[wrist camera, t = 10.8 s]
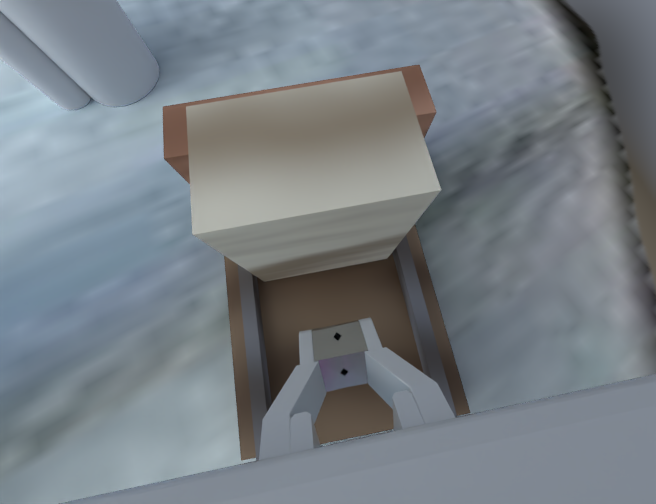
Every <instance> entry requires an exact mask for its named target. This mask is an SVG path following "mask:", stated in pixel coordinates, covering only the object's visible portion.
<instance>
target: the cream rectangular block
mask: <svg viewBox="0 0 656 504" xmlns="http://www.w3.org/2000/svg"><path fill="white" fill-rule="evenodd" d="M186 116H187V136H188V156H189V175H190V195H191V214H192V234H193V235H194V236H195V237H197V238H198V239H200V240H201V241H203V242H204V243H206V244H207V245H209V246H210V247H212V248H213V249H215V250H216V251H218V252H220V253H221V254H223V255H224V256H226V257H227V258H229V259H230V260H232V261H233V262H235V263H236V264H238V265H239V266H241V267H243V268H244V269H246V270H247V271H249V272H250V273H252V274H253V275H255V276H256V277H258V278H259V279H261V280H262V281H264V282H266V281H271V280H276V279H282V278H287V277H292V276H298V275H303V274H308V273H314V272H319V271H324V270H330V269H335V268H340V267H346V266H351V265H357V264H362V263H367V262H373V261H378V260H383V259H387V258H388V257H389V256H390V255H391V253H392V252H393V251H394V249H395V248H396V247H397V246H398V244H399V243H400V242H401V241H402V239H403V238H404V237H405V236H406V234H407V233H408V232H409V230H410V229H411V228H412V227H413V225H414V224H415V223H416V222H417V220H418V219H419V218H420V217H421V215H422V214H423V213H424V211H425V210H426V209H427V208H428V206H429V205H430V204H431V203H432V201H433V200H434V199H435V198H436V196H437V195H438V194H439V192H440V191H441V187H440V185H439V182H438V179H437V176H436V173H435V170H434V167H433V164H432V161H431V158H430V155H429V152H428V149H427V146H426V143H425V140H424V137H423V134H422V131H421V128H420V125H419V122H418V119H417V116H416V113H415V110H414V107H413V104H412V101H411V98H410V95H409V92H408V89H407V86H406V83H405V80H404V77H403V74H402V71H399V72H393V73H387V74H381V75H374V76H368V77H362V78H356V79H350V80H344V81H338V82H332V83H326V84H320V85H314V86H308V87H302V88H296V89H290V90H283V91H277V92H271V93H265V94H259V95H253V96H247V97H241V98H235V99H229V100H223V101H217V102H211V103H205V104H199V105H192V106H186Z"/></svg>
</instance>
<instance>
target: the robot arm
mask: <svg viewBox="0 0 656 504" xmlns="http://www.w3.org/2000/svg"><path fill="white" fill-rule="evenodd" d="M299 353H300V365H297V366H296V367H295V369H294V370H293V372H292V373H291V375H290V377H289V378H288V380H287V381H286V383H285V384H284V386H283V388H282V389H281V391H280V392H279V394H278V396H277V397H276V399H275V400H274V402H273V404H272V405H271V407H270V408H269V410H268V412H267V413H266V415H265V416H264V418H263V421H262V432H261V442H260V453H259V460H258V461H254V462H249V463H244V464H240V465H235V466H231V467H226V468H221V469H217V470H212V471H207V472H203V473H198V474H194V475H189V476H184V477H180V478H175V479H171V480H166V481H161V482H157V483H152V484H148V485H143V486H138V487H134V488H129V489H124V490H120V491H115V492H111V493H106V494H101V495H97V496H92V497H87V498H83V499H78V500H74V501H69V502H64V503H60V504H656V374H653V375H649V376H644V377H639V378H635V379H630V380H626V381H621V382H617V383H612V384H607V385H603V386H598V387H594V388H589V389H584V390H580V391H575V392H571V393H566V394H561V395H557V396H552V397H548V398H543V399H538V400H534V401H529V402H525V403H520V404H515V405H511V406H506V407H502V408H497V409H492V410H488V411H483V412H479V413H474V414H469V415H465V416H460V417H456V418H455V416H454V414H453V412H452V410H451V408H450V406H449V404H448V403H447V401H446V399H445V397H444V395H443V393H442V391H441V389H440V387H439V386H438V384H437V383H436V382H435V381H434V380H432V379H431V378H429V377H428V376H427V375H425V374H424V373H422V372H421V371H419V370H418V369H417V368H415V367H414V366H412V365H411V364H409V363H408V362H407V361H405V360H404V359H402V358H401V357H400V356H398V355H397V354H395V353H394V352H392V351H391V350H390V349H388V348H387V347H385V348H383V347H382V345H381V342H380V340H379V337H378V334H377V332H376V329H375V327H374V324H373V321H372V319H371V318H365V319H360V320H356V321H351V322H346V323H342V324H337V325H332V326H327V327H321V328H315V329H311V330H305V331H300V332H299ZM367 383H368V384H369V385H370V386H371V387H372V388H373V389H374V390H375V392H376V393H377V394H378V395H379V396H380V397H381V398H382V399H383V400H384V401H385V402H386V403H387V404H388V405H389V406H390V407H391V408H392V409H393V425H394V431H391V432H387V433H382V434H378V435H373V436H368V437H364V438H359V439H355V440H350V441H345V442H341V443H336V444H332V445H327V446H323V447H321V445H320V442H319V439H318V436H317V432H316V429H315V426H314V423H315V421H316V418H317V416H318V413H319V411H320V408H321V406H322V403H323V401H324V398H325V396H326V392H328V391H333V390H337V389H341V388H345V387H350V386H356V385H361V384H367Z"/></svg>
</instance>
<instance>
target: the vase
mask: <svg viewBox="0 0 656 504" xmlns="http://www.w3.org/2000/svg"><path fill="white" fill-rule="evenodd" d="M0 59H1V60H2V61H4V62H5V63H6V64H7V65H9V66H10V67H11V68H12V69H14V70H15V71H16V72H17V73H19V74H20V75H21V76H22V77H23V78H25V79H26V80H27V81H28V82H30V83H31V84H32V85H33V86H35V87H36V88H37V89H38V90H40V91H41V92H42V93H43V94H45V95H46V96H47V97H48V98H50V99H51V100H52V101H53V102H55V103H56V104H57V105H58V106H60V107H61V108H63V109H65V110H77V109H80V108H82V107H84V106H85V105H87V104H88V103H89V101H90V99H91V98H93V99H94V100H95V101H96V102H98V103H100V104H102V105H105V106H110V107H120V106H127V105H129V104H132V103H135V102H137V101H139V100H140V99H142V98H143V97H145V96H146V95H147V94H148V93H149V92H150V91H151V90H152V89H153V88H154V86H155V84H156V82H157V80H158V78H159V66H158V63H157V60H156V59H155V57H154V56H153V54H152V53H151V51H150V50H149V48H148V47H147V45H146V44H145V42H144V41H143V39H142V38H141V36H140V35H139V33H138V32H137V30H136V29H135V27H134V26H133V24H132V23H131V21H130V20H129V18H128V17H127V15H126V14H125V12H124V11H123V9H122V8H121V6H120V5H119V3H118V2H117V0H0Z"/></svg>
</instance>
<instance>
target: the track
mask: <svg viewBox="0 0 656 504" xmlns="http://www.w3.org/2000/svg"><path fill="white" fill-rule="evenodd" d="M399 71H402V74H403V77H404V80H405V83H406V86H407V89H408V92H409V95H410V98H411V101H412V104H413V107H414V110H415V113H416V116H417V119H418V122H419V125H420V128H421V131H422V134H423V137H425V135H426V133H427V131H428V129H429V127H430V125H431V123H432V121H433V119H434V116H435V114H436V109H435V106H434V104H433V101H432V98H431V95H430V93H429V90H428V87H427V84H426V82H425V79H424V76H423V73H422V71H421V68H420V65H414V66H407V67H401V68H395V69H389V70H383V71H377V72H371V73H365V74H359V75H353V76H347V77H341V78H334V79H328V80H322V81H316V82H310V83H304V84H298V85H292V86H286V87H280V88H274V89H268V90H261V91H255V92H249V93H243V94H237V95H231V96H225V97H219V98H213V99H207V100H201V101H195V102H188V103H182V104H176V105H170V106H164V107H163V139H164V159H165V160H166V161H167V162H168V163H169V164H170V165H171V166H172V167H173V168H174V169H175V170H176V171H177V172H178V173H179V174H180V175H181V176H182V177H183V178H184V179H185V180H186V181H187V182H188V183H189V184H190V175H189V156H188V136H187V116H186V106H192V105H199V104H205V103H211V102H217V101H223V100H229V99H235V98H241V97H247V96H253V95H259V94H265V93H271V92H277V91H283V90H290V89H296V88H302V87H308V86H314V85H320V84H326V83H332V82H338V81H344V80H350V79H356V78H362V77H368V76H374V75H381V74H387V73H393V72H399ZM224 259H225V271H226V283H227V295H228V307H229V319H230V331H231V343H232V355H233V367H234V379H235V391H236V403H237V415H238V427H239V439H240V451H241V460H246V459H251V458H256V461H258V460H259V453H260V442H261V432H262V421H263V418H264V416H265V415H266V413H267V412H268V410H269V408H270V407H271V405H272V404H273V402H274V400H275V399H276V397H277V396H278V394H279V392H280V391H281V389H282V388H283V386H284V384H285V383H286V381H287V380H288V378H289V377H290V375H291V373H292V372H293V370H294V369H295V367H296V366H297V365H300V353H299V332H300V331H305V330H311V329H315V328H321V327H327V326H332V325H337V324H342V323H346V322H351V321H356V320H360V319H365V318H371V319H372V321H373V324H374V327H375V329H376V332H377V334H378V337H379V340H380V342H381V345H382V347H383V348H385V347H387V348H388V349H390V350H391V351H392V352H394V353H395V354H397V355H398V356H400V357H401V358H402V359H404V360H405V361H407V362H408V363H409V364H411V365H412V366H414V367H415V368H417V369H418V370H419V371H421V372H422V373H424V374H425V375H427V376H428V377H429V378H431V379H432V380H434V381H435V382H436V383H437V384H438V386H439V387H440V389H441V391H442V393H443V395H444V397H445V399H446V401H447V403H448V404H449V406H450V408H451V410H452V412H453V414H454V416H455V418H456V417H457V416H458V415H463V414H468V413H470V410H469V406H468V403H467V399H466V396H465V393H464V389H463V386H462V382H461V379H460V376H459V372H458V369H457V365H456V362H455V359H454V355H453V352H452V349H451V345H450V342H449V338H448V335H447V332H446V328H445V325H444V321H443V318H442V315H441V311H440V308H439V304H438V301H437V298H436V294H435V291H434V287H433V284H432V281H431V277H430V274H429V270H428V267H427V264H426V260H425V257H424V253H423V250H422V247H421V243H420V240H419V237H418V233H417V230H416V226H415V224H414V225H413V227H412V228H411V229H410V230H409V232H408V233H407V234H406V236H405V237H404V238H403V239H402V241H401V242H400V243H399V244H398V246H397V247H396V248H395V249H394V251H393V252H392V253H391V255H390V256H389V257H388V258H387V259H383V260H378V261H373V262H367V263H362V264H357V265H351V266H346V267H340V268H335V269H330V270H324V271H319V272H314V273H308V274H303V275H298V276H292V277H287V278H282V279H276V280H271V281H266V282H264V281H262V280H261V279H259V278H258V277H256V276H255V275H253V274H252V273H250V272H249V271H247V270H246V269H244V268H243V267H241V266H239V265H238V264H236V263H235V262H233V261H232V260H230V259H229V258H227V257H226V256H224ZM314 426H315V429H316V432H317V436H318V439H319V442H320V444H323V443H328V442H333V441H338V440H343V439H347V438H352V437H357V436H362V435H367V434H371V433H376V432H381V431H386V430H391V429H394V425H393V409H392V408H391V407H390V406H389V405H388V404H387V403H386V402H385V401H384V400H383V399H382V398H381V397H380V396H379V395H378V394H377V393H376V392H375V390H374V389H373V388H372V387H371V386H370V385H369V384H368V383H367V384H361V385H356V386H350V387H345V388H341V389H337V390H333V391H328V392H326V396H325V398H324V401H323V403H322V406H321V408H320V411H319V413H318V416H317V418H316V421H315V423H314Z"/></svg>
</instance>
